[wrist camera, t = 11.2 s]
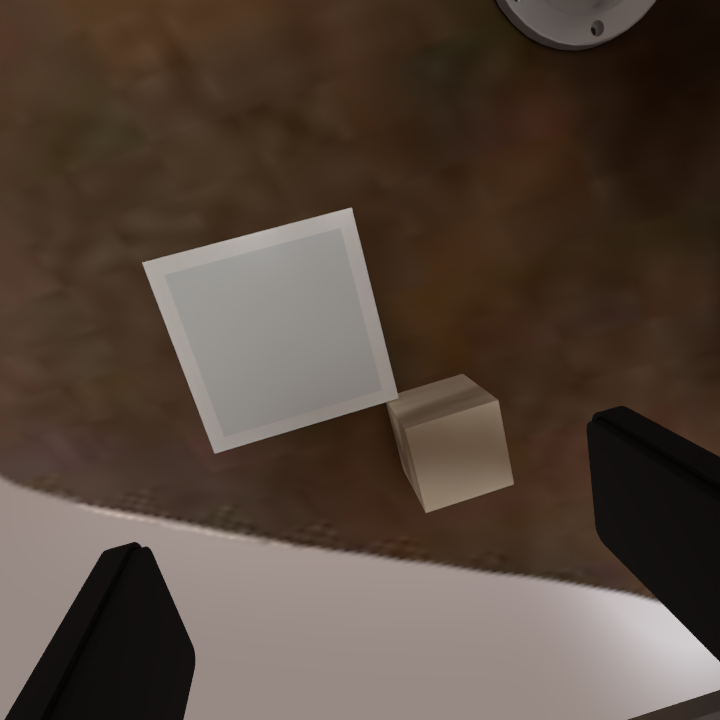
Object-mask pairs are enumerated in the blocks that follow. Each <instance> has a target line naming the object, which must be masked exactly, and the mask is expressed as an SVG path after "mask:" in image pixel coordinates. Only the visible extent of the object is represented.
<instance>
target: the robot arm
mask: <svg viewBox="0 0 720 720" xmlns="http://www.w3.org/2000/svg"><path fill="white" fill-rule="evenodd" d="M496 1H497V3H498V5H499V7H500V8H501V10H502V11H503V12H504V14H505V15H506V16H507V18H508V19H509V20H510V21H511V23H512V24H513V25H515V26H516V27H517V28H518V29H519V30H520V31H521V32H522V33H524V34H525V35H526V36H527V37H529V38H531V39H533V40H535V41H536V42H538V43H540V44H542V45H545V46H548V47H552V48H555V49H559V50H576V51H577V50H582V49H588V48H593V47H596V46H598V45H601V44H603V43H606V42H608V41H610V40H612V39H614V38H615V37H617V36H618V35H620V34H621V33H623V32H625V31H627V30H628V29H629V28H630V27H632V26H633V25H634V24H635V23H636V22H637V21H639V20H640V19H641V18H642V17H643V16H644V15H645V14H646V13H647V11H648V10H649V9H650V8H651V7H652V5H653V4H654V3H655V2H656V0H515V1H514V0H496ZM587 439H588V449H589V460H590V471H591V482H592V493H593V504H594V515H595V526H596V530H597V533H598V535H599V537H600V539H601V541H602V542H603V543H604V545H605V546H606V547H607V548H608V549H609V550H610V551H611V552H612V553H613V554H614V555H615V556H616V557H617V558H618V559H619V560H620V561H621V562H622V563H623V564H624V565H625V566H626V567H627V568H628V569H629V570H630V571H631V572H632V573H633V574H634V575H635V576H636V577H637V578H638V579H639V580H640V581H641V582H642V583H643V584H644V585H645V586H646V587H647V588H648V589H649V590H650V591H651V592H652V593H653V594H654V595H655V596H656V597H657V598H658V599H659V601H660V602H661V603H662V604H663V605H664V606H665V607H666V608H667V609H669V611H670V612H671V613H672V614H673V615H674V616H675V617H676V618H677V619H678V620H679V621H680V622H681V623H682V624H683V625H684V626H685V627H686V628H687V629H688V630H689V631H690V632H691V633H692V634H693V635H694V636H695V637H696V638H697V639H698V640H699V641H700V642H701V643H702V644H703V645H704V646H705V647H706V648H707V649H708V650H709V651H710V652H711V653H712V654H713V655H714V656H715V657H716V658H717V659H718V660H719V661H720V457H719V456H717V455H715V454H713V453H711V452H709V451H707V450H705V449H704V448H702V447H700V446H698V445H696V444H694V443H692V442H691V441H689V440H687V439H685V438H683V437H681V436H679V435H677V434H676V433H674V432H672V431H670V430H668V429H666V428H664V427H662V426H661V425H659V424H657V423H655V422H653V421H651V420H649V419H648V418H646V417H644V416H642V415H640V414H638V413H636V412H634V411H633V410H631V409H629V408H627V407H624V406H619V407H615V408H611V409H608V410H604V411H601V412H597V413H595V414H594V415H593V418H592V421H591V422H589V423H588V424H587ZM194 669H195V652H194V648H193V645H192V643H191V640H190V638H189V636H188V633H187V631H186V629H185V627H184V624H183V622H182V620H181V618H180V615H179V613H178V611H177V608H176V606H175V604H174V601H173V599H172V597H171V595H170V592H169V590H168V588H167V585H166V583H165V581H164V579H163V576H162V574H161V572H160V569H159V567H158V565H157V562H156V560H155V558H154V555H153V553H152V551H151V550H150V548H148V547H143V548H142V547H141V546H140V545H139V544H138V543H136V542H133V543H129V544H126V545H122V546H119V547H115V548H111V549H108V550H106V551H104V552H103V553H102V554H101V556H100V558H99V559H98V561H97V563H96V565H95V566H94V568H93V570H92V571H91V573H90V575H89V577H88V578H87V580H86V582H85V583H84V585H83V587H82V588H81V590H80V592H79V594H78V595H77V597H76V599H75V600H74V602H73V604H72V605H71V607H70V609H69V611H68V612H67V614H66V616H65V618H64V619H63V621H62V623H61V624H60V626H59V628H58V629H57V631H56V633H55V634H54V636H53V638H52V640H51V641H50V643H49V645H48V646H47V648H46V650H45V652H44V653H43V655H42V657H41V658H40V660H39V662H38V663H37V665H36V667H35V669H34V670H33V672H32V674H31V675H30V677H29V679H28V681H27V682H26V684H25V686H24V687H23V689H22V691H21V693H20V694H19V696H18V698H17V699H16V701H15V703H14V704H13V706H12V708H11V710H10V711H9V713H8V715H7V716H6V718H5V720H183V719H184V714H185V710H186V705H187V701H188V696H189V691H190V687H191V683H192V678H193V673H194ZM628 720H720V690H719V691H716V692H712V693H709V694H706V695H703V696H700V697H697V698H694V699H691V700H688V701H685V702H681V703H678V704H675V705H672V706H669V707H666V708H663V709H660V710H656V711H653V712H650V713H647V714H644V715H641V716H638V717H635V718H632V719H628Z"/></svg>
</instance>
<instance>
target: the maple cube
mask: <svg viewBox="0 0 720 720" xmlns="http://www.w3.org/2000/svg"><path fill="white" fill-rule="evenodd" d="M398 397H399V398H398V399H395V400H392V401H388V402H386V405H387V409H388V413H389V417H390V421H391V425H392V428H393V432H394V436H395V440H396V444H397V448H398V452H399V455H400V459H401V463H402V467H403V470H404V472H405V474H406V476H407V478H408V480H409V482H410V484H411V485H412V487H413V489H414V491H415V493H416V495H417V497H418V499H419V501H420V503H421V505H422V506H423V508H424V510H425V512H426V513H428V512H431V511H434V510H437V509H440V508H443V507H446V506H449V505H452V504H455V503H458V502H461V501H464V500H467V499H471V498H474V497H477V496H480V495H483V494H486V493H489V492H492V491H495V490H498V489H501V488H504V487H507V486H510V485H513V484H514V482H513V477H512V471H511V466H510V460H509V455H508V450H507V444H506V439H505V433H504V428H503V423H502V417H501V412H500V406H499V401H498V399H496V398H495V397H494V396H492V395H491V394H490V393H488V392H487V391H486V390H484V389H483V388H481V387H480V386H479V385H477V384H476V383H475V382H473V381H472V380H471V379H469V378H468V377H467V376H465V375H464V374H460V375H457V376H454V377H450V378H447V379H444V380H440V381H437V382H434V383H430V384H427V385H424V386H421V387H417V388H414V389H411V390H407V391H404V392H401V393H398Z"/></svg>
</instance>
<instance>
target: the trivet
mask: <svg viewBox="0 0 720 720" xmlns="http://www.w3.org/2000/svg"><path fill="white" fill-rule="evenodd" d="M142 264H143V266H144V269H145V272H146V274H147V277H148V279H149V282H150V285H151V287H152V290H153V293H154V295H155V298H156V300H157V303H158V306H159V308H160V311H161V314H162V316H163V319H164V322H165V324H166V327H167V329H168V332H169V335H170V337H171V340H172V343H173V345H174V348H175V350H176V353H177V356H178V358H179V361H180V364H181V366H182V369H183V372H184V374H185V377H186V379H187V382H188V385H189V387H190V390H191V393H192V395H193V398H194V400H195V403H196V406H197V408H198V411H199V414H200V416H201V419H202V422H203V424H204V427H205V429H206V432H207V435H208V437H209V440H210V443H211V445H212V448H213V450H214V453H219V452H222V451H225V450H229V449H232V448H235V447H239V446H242V445H245V444H249V443H252V442H255V441H259V440H262V439H265V438H269V437H272V436H275V435H279V434H282V433H285V432H289V431H292V430H295V429H299V428H302V427H305V426H309V425H312V424H315V423H319V422H322V421H325V420H328V419H332V418H335V417H338V416H342V415H345V414H348V413H352V412H355V411H358V410H362V409H365V408H368V407H372V406H375V405H378V404H382V403H385V402H388V401H392V400H395V399H398V398H399V397H398V393H397V389H396V385H395V381H394V377H393V373H392V369H391V365H390V361H389V357H388V353H387V349H386V345H385V341H384V337H383V333H382V328H381V324H380V320H379V316H378V312H377V308H376V304H375V300H374V296H373V292H372V288H371V284H370V280H369V276H368V272H367V268H366V264H365V260H364V256H363V252H362V248H361V243H360V239H359V235H358V231H357V227H356V223H355V219H354V215H353V211H352V208H348V209H344V210H340V211H337V212H333V213H329V214H325V215H321V216H318V217H314V218H310V219H306V220H302V221H299V222H295V223H291V224H287V225H283V226H280V227H276V228H272V229H268V230H264V231H261V232H257V233H253V234H249V235H245V236H241V237H238V238H234V239H230V240H226V241H222V242H219V243H215V244H211V245H207V246H203V247H200V248H196V249H192V250H188V251H184V252H181V253H177V254H173V255H169V256H165V257H162V258H158V259H154V260H150V261H146V262H143V263H142Z"/></svg>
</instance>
